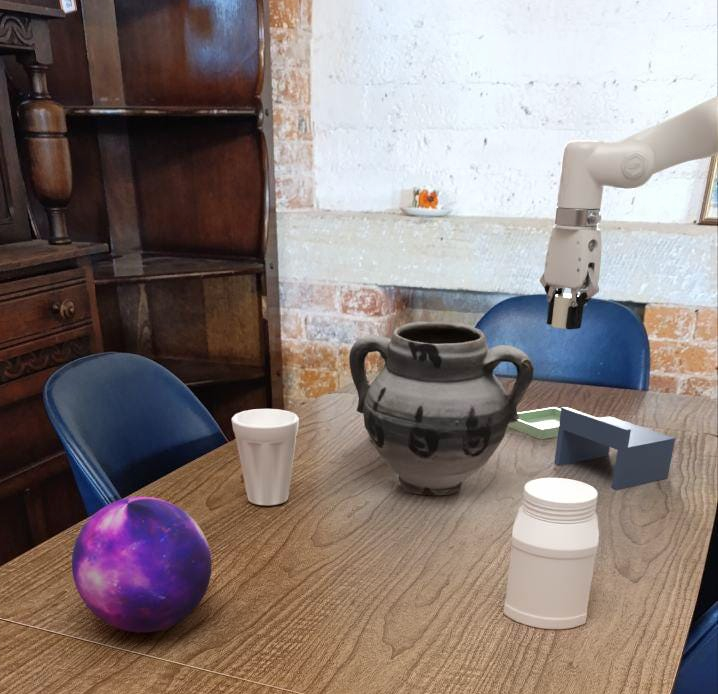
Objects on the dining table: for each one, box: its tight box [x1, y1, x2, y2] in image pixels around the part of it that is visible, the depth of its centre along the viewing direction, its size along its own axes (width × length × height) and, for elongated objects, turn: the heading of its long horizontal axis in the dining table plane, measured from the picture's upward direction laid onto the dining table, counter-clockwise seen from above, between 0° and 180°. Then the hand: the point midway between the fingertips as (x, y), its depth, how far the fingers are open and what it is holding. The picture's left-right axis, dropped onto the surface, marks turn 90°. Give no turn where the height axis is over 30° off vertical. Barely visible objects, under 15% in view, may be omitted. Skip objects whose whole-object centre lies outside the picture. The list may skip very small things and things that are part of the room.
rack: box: [553, 406, 676, 491], centre depth 149 cm, size 12×15×10 cm
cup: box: [231, 408, 300, 506], centre depth 133 cm, size 10×10×13 cm
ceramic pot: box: [349, 321, 535, 496], centre depth 137 cm, size 29×23×25 cm
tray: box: [507, 406, 561, 440], centre depth 173 cm, size 13×11×2 cm
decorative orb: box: [71, 496, 212, 633], centre depth 97 cm, size 15×15×15 cm
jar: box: [502, 477, 600, 630], centre depth 103 cm, size 12×10×15 cm
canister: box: [550, 293, 579, 330], centre depth 162 cm, size 4×4×6 cm
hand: (563, 325), depth 163 cm, fingers closed on canister, 4 cm apart
